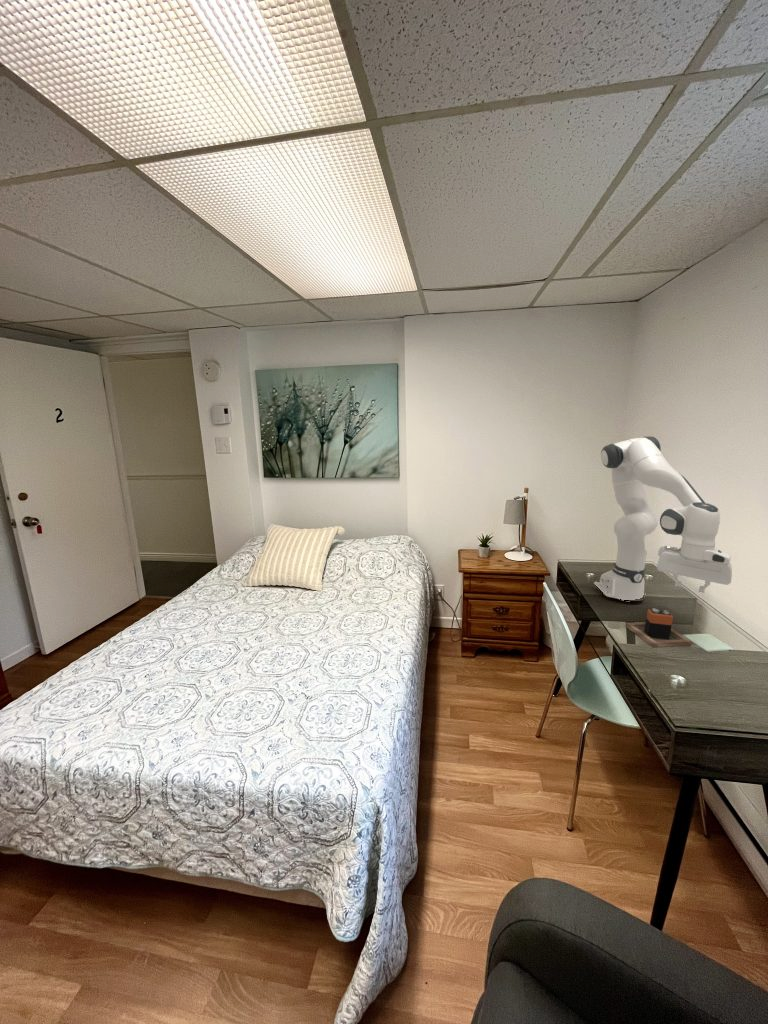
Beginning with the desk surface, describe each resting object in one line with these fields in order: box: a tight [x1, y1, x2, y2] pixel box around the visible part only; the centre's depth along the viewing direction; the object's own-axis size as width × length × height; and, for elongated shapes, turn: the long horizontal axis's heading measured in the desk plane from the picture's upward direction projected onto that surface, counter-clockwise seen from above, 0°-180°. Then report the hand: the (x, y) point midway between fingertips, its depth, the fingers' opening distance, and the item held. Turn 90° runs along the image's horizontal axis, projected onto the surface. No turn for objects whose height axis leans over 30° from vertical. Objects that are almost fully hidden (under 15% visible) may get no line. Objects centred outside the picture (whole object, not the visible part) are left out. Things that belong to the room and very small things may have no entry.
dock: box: [625, 621, 693, 648], centre depth 142 cm, size 14×14×2 cm
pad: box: [682, 633, 735, 653], centre depth 137 cm, size 10×10×1 cm
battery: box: [643, 608, 674, 640], centre depth 141 cm, size 4×7×10 cm, turn 76°
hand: (689, 589), depth 136 cm, fingers open, 5 cm apart
